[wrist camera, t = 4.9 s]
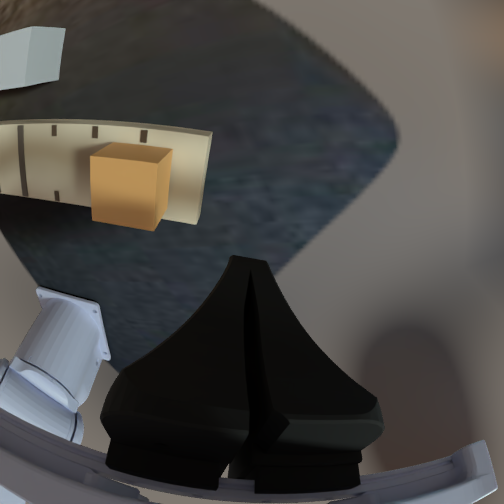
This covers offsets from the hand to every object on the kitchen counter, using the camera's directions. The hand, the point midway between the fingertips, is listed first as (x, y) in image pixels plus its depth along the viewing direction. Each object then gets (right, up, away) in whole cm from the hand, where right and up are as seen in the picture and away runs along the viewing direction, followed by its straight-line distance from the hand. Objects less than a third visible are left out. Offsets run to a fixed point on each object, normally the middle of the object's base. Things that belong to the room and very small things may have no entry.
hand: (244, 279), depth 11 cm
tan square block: (-7, +6, +6) cm, 11 cm away
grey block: (-15, +15, +3) cm, 21 cm away
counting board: (-13, +8, +7) cm, 16 cm away
